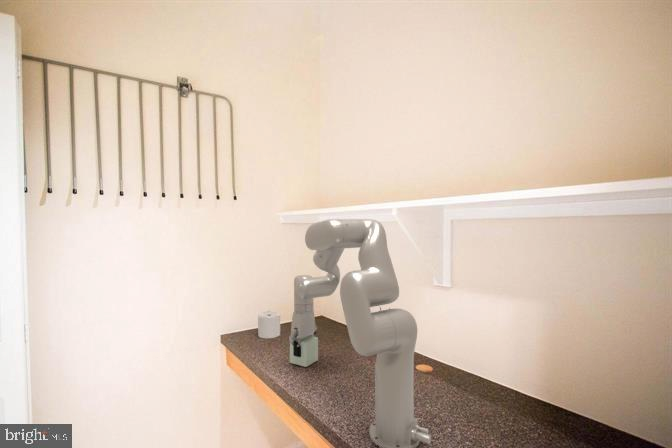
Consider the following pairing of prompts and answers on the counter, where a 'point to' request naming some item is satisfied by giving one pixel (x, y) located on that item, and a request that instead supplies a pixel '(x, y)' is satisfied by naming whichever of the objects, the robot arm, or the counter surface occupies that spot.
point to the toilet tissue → (269, 324)
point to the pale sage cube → (305, 351)
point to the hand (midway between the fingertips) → (304, 352)
